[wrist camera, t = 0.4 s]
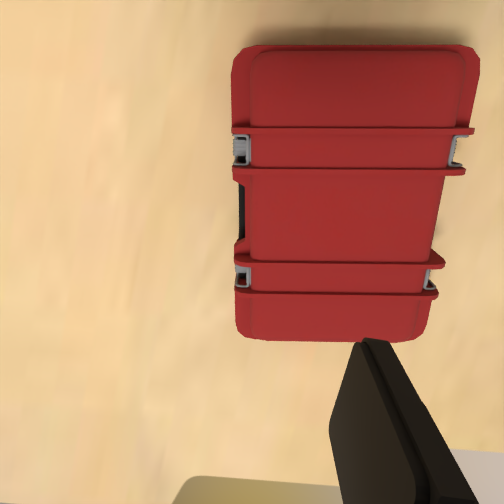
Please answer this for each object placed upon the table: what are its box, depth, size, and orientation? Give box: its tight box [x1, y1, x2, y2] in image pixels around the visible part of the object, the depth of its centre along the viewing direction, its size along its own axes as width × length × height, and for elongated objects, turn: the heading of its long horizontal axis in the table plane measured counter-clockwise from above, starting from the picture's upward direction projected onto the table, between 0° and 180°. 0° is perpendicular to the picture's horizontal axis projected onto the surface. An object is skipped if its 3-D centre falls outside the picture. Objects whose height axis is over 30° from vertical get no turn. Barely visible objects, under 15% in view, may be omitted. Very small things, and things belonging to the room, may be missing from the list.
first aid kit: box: [231, 45, 480, 343], centre depth 41 cm, size 32×23×9 cm
